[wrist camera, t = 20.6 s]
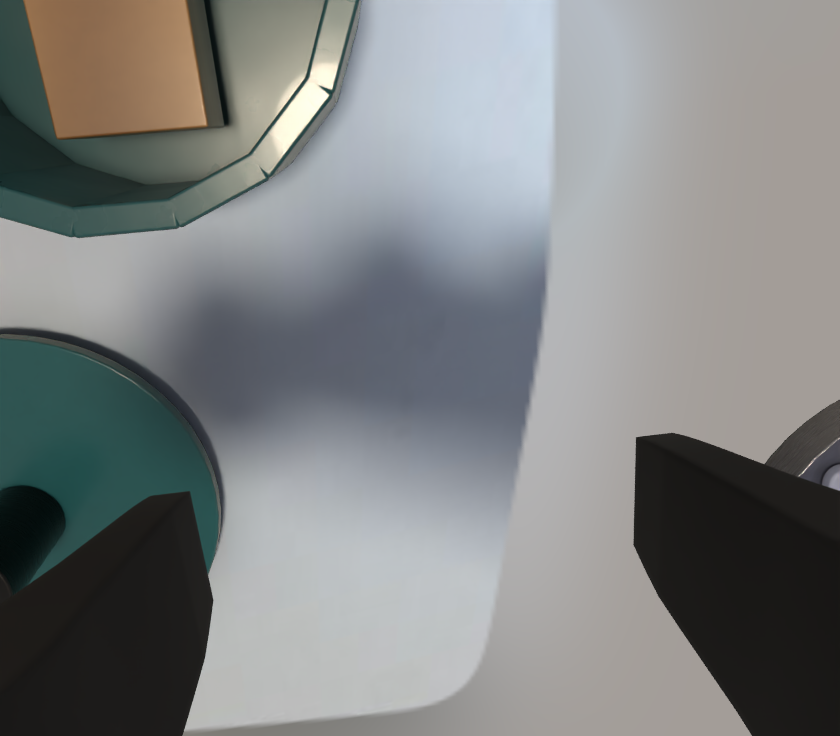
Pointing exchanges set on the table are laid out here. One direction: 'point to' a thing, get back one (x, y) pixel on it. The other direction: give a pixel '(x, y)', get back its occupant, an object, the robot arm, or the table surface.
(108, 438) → the pot lid
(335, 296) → the table surface
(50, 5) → the tall bronze cuboid
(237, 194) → the pot
